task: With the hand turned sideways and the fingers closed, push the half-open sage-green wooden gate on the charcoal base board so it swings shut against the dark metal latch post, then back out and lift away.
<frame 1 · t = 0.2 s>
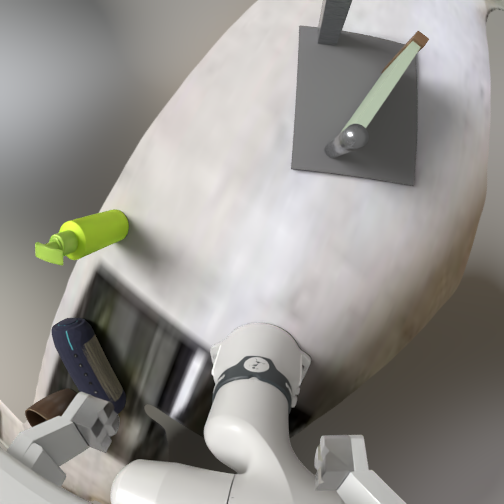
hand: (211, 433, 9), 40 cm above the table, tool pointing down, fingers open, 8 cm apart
soap dispenser: (118, 225, 51), on the table
gate frame: (358, 100, 40), on the table
gate leaf: (378, 91, 32), point 9 cm above the table, hinge at 30.0°
plant pot: (74, 397, 66), on the table
portable speaker: (101, 358, 60), on the table
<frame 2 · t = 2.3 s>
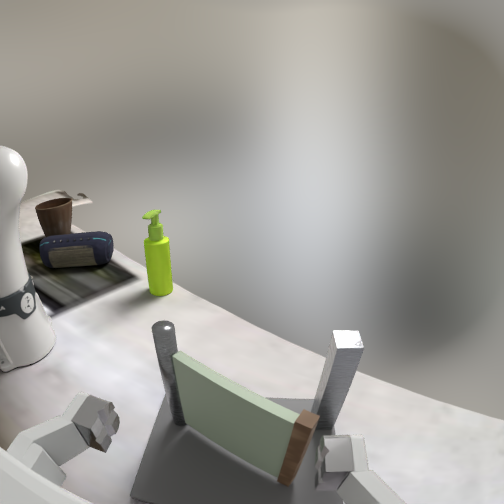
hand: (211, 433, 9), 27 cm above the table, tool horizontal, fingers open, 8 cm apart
soap dispenser: (160, 291, 70), on the table
gate frame: (242, 454, 32), on the table
gate leaf: (236, 425, 28), point 9 cm above the table, hinge at 30.0°
plant pot: (60, 244, 94), on the table
portable speaker: (78, 265, 80), on the table
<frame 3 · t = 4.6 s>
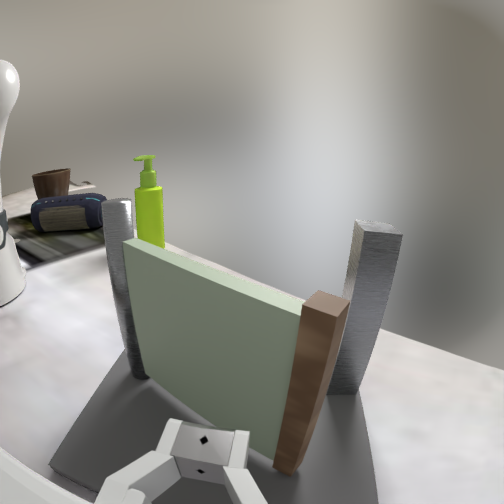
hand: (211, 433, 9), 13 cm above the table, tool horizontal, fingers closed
soap dispenser: (150, 249, 62), on the table
gate frame: (223, 426, 23), on the table
gate leaf: (207, 359, 19), point 9 cm above the table, hinge at 30.0°
plant pot: (55, 216, 88), on the table
portable speaker: (69, 230, 74), on the table
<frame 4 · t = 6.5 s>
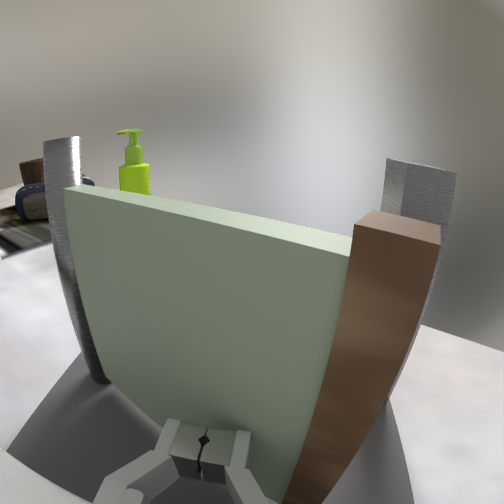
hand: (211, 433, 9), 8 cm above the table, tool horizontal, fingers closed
soap dispenser: (136, 234, 55), on the table
gate frame: (206, 451, 15), on the table
gate leaf: (174, 358, 12), point 9 cm above the table, hinge at 28.8°, touching gripper
plant pot: (42, 206, 81), on the table
portable speaker: (55, 217, 67), on the table
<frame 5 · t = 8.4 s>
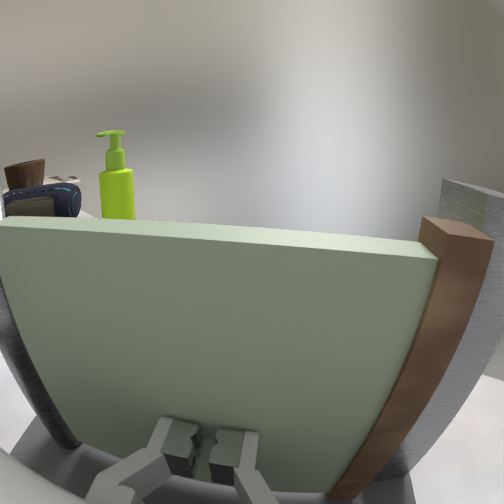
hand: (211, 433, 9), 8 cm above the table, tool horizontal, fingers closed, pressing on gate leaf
soap dispenser: (120, 247, 49), on the table
gate leaf: (195, 402, 10), point 9 cm above the table, hinge at 1.6°, touching gripper
plant pot: (28, 212, 74), on the table
portable speaker: (39, 225, 61), on the table
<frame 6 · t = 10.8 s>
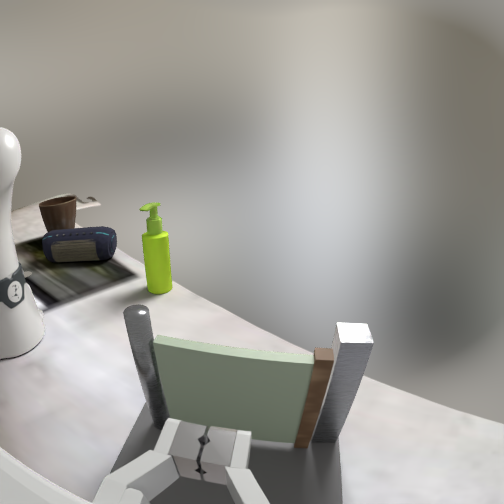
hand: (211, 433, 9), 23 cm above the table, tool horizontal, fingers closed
soap dispenser: (159, 289, 67), on the table
gate frame: (229, 467, 27), on the table
gate leaf: (239, 399, 27), point 9 cm above the table, hinge at 1.6°
plant pot: (63, 243, 93), on the table
portable speaker: (80, 260, 80), on the table
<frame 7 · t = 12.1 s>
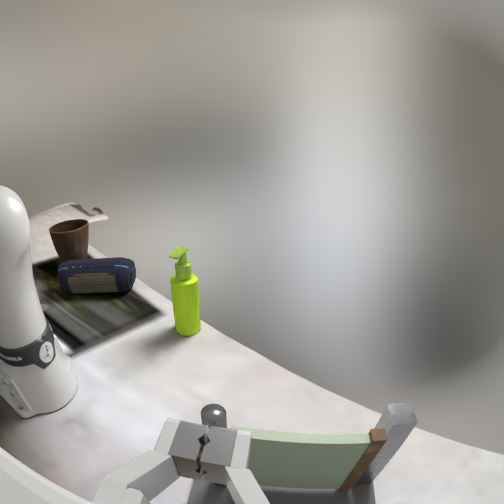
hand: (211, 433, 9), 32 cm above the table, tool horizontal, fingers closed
soap dispenser: (187, 330, 67), on the table
gate leaf: (299, 465, 27), point 9 cm above the table, hinge at 1.6°
plant pot: (76, 268, 93), on the table
portable speaker: (98, 291, 80), on the table
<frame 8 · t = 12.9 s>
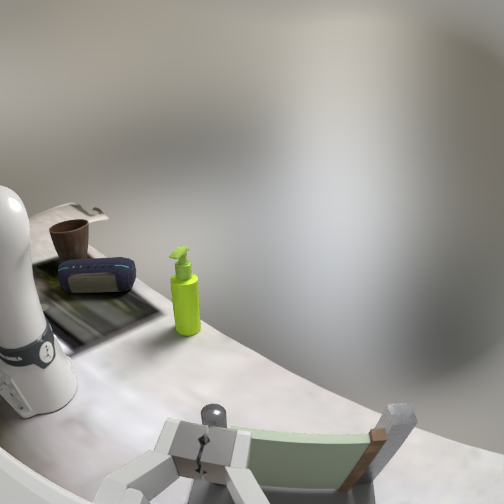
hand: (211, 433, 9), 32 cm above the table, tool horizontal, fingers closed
soap dispenser: (187, 330, 67), on the table
gate leaf: (299, 465, 27), point 9 cm above the table, hinge at 1.6°
plant pot: (75, 268, 93), on the table
portable speaker: (98, 291, 80), on the table
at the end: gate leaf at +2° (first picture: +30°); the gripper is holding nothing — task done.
